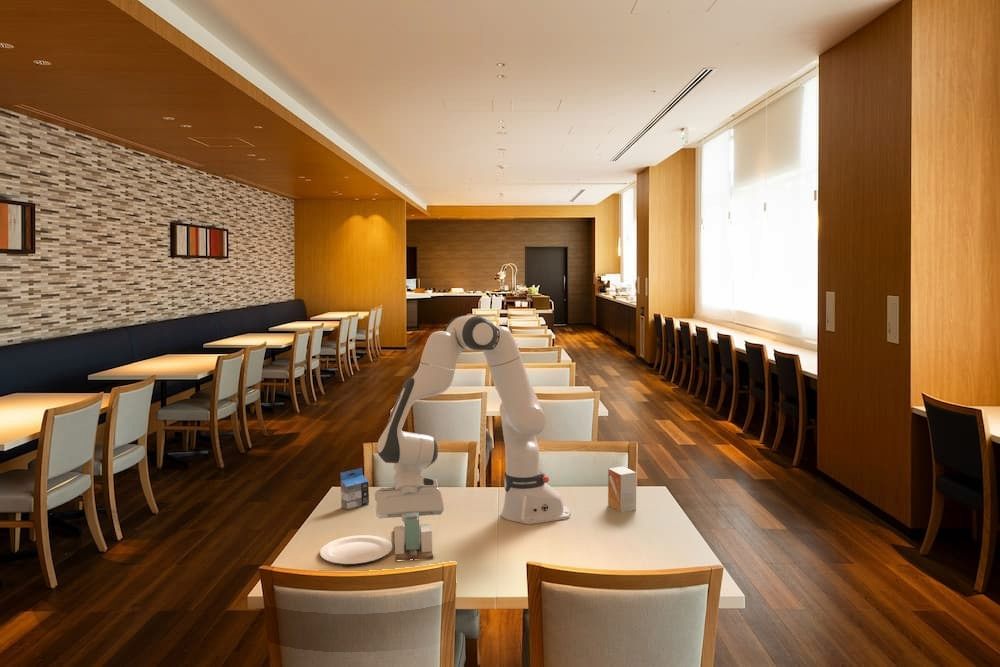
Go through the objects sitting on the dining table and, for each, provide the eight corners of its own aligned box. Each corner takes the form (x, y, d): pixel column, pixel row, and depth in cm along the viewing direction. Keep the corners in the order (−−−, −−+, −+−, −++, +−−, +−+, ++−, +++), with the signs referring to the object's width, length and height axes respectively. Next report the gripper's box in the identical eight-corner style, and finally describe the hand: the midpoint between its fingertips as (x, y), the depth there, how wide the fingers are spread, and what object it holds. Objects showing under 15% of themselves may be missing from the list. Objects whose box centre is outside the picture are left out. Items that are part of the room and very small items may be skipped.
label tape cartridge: (346, 510, 255) (345, 475, 253) (341, 507, 258) (339, 472, 256) (369, 504, 260) (368, 469, 259) (363, 501, 263) (362, 467, 262)
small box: (607, 505, 256) (607, 468, 255) (623, 502, 259) (623, 465, 257) (620, 512, 249) (620, 474, 247) (636, 510, 251) (636, 472, 250)
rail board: (427, 528, 237) (427, 524, 237) (433, 558, 214) (432, 554, 213) (393, 530, 235) (393, 526, 235) (395, 561, 212) (395, 557, 212)
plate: (346, 536, 232) (346, 531, 232) (405, 545, 224) (405, 540, 224) (304, 562, 213) (304, 556, 213) (367, 573, 205) (367, 567, 205)
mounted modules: (430, 543, 222) (430, 523, 222) (432, 551, 216) (431, 531, 216) (394, 546, 221) (394, 526, 220) (395, 554, 215) (394, 533, 214)
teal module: (418, 541, 223) (417, 509, 222) (419, 549, 217) (418, 516, 216) (405, 542, 222) (404, 510, 221) (405, 550, 216) (404, 517, 215)
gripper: (374, 483, 227) (375, 527, 218) (442, 479, 230) (445, 522, 222) (374, 493, 232) (375, 535, 223) (441, 489, 235) (444, 531, 226)
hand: (410, 529), depth 222 cm, fingers closed, pressing on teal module
